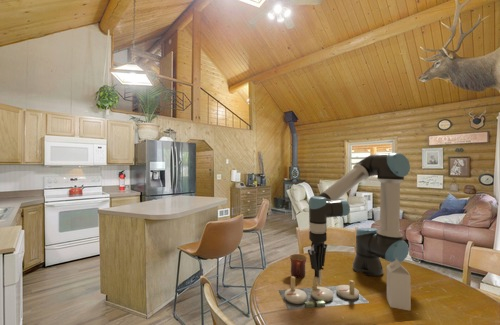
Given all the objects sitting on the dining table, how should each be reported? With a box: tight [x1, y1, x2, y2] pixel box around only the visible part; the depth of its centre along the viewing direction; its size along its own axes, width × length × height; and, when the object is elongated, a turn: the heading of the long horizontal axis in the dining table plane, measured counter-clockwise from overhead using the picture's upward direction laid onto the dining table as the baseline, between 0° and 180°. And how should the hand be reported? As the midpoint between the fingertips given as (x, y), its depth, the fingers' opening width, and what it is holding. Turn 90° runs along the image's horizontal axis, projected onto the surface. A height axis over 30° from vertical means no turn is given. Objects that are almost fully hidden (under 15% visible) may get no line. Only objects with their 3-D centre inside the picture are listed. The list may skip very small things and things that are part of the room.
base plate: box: [278, 284, 370, 311], centre depth 104 cm, size 35×15×2 cm, turn 99°
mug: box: [289, 253, 307, 279], centre depth 124 cm, size 12×9×10 cm
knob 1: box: [285, 275, 307, 304], centre depth 102 cm, size 9×9×7 cm
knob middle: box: [311, 275, 333, 302], centre depth 104 cm, size 9×9×7 cm
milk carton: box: [386, 258, 412, 312], centre depth 99 cm, size 7×7×19 cm
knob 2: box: [336, 279, 360, 299], centre depth 106 cm, size 9×9×7 cm
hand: (317, 283), depth 108 cm, fingers closed
